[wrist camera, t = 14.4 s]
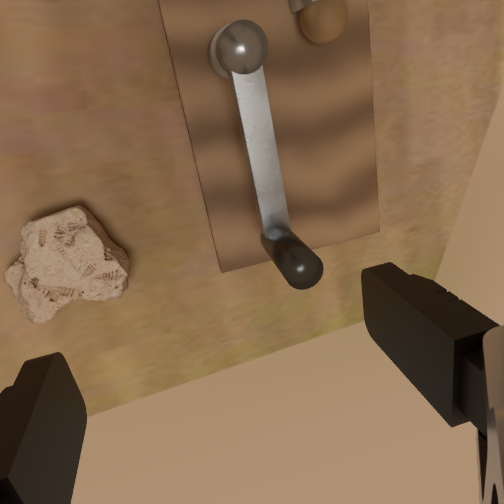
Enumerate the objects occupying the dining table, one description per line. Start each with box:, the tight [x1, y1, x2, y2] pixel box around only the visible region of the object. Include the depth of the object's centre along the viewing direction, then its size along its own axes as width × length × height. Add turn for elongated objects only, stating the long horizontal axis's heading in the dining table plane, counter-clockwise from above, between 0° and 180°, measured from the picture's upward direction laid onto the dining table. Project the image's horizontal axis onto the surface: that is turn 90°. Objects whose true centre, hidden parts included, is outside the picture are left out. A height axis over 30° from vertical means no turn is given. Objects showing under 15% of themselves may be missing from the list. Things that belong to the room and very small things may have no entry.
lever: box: [215, 19, 323, 290], centre depth 31 cm, size 19×4×8 cm, turn 12°
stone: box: [3, 205, 130, 324], centre depth 37 cm, size 9×11×5 cm
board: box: [158, 0, 380, 273], centre depth 36 cm, size 26×18×6 cm
